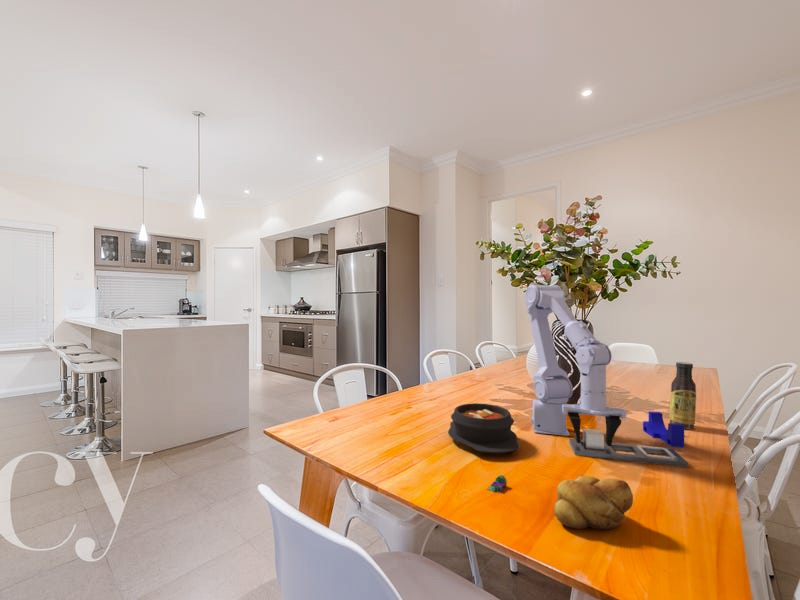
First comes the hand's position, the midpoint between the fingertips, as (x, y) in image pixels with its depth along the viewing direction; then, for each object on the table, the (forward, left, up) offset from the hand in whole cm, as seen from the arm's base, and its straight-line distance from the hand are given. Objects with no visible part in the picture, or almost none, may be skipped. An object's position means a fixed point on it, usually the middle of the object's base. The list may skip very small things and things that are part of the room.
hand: (593, 443), depth 92 cm
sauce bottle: (+31, +28, -2) cm, 42 cm away
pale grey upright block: (0, 0, -2) cm, 2 cm away
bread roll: (-8, -32, -2) cm, 33 cm away
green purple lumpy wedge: (-23, -26, -3) cm, 35 cm away
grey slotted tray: (+7, 0, -2) cm, 7 cm away
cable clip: (+21, +15, -2) cm, 26 cm away
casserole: (-28, -1, -2) cm, 28 cm away
